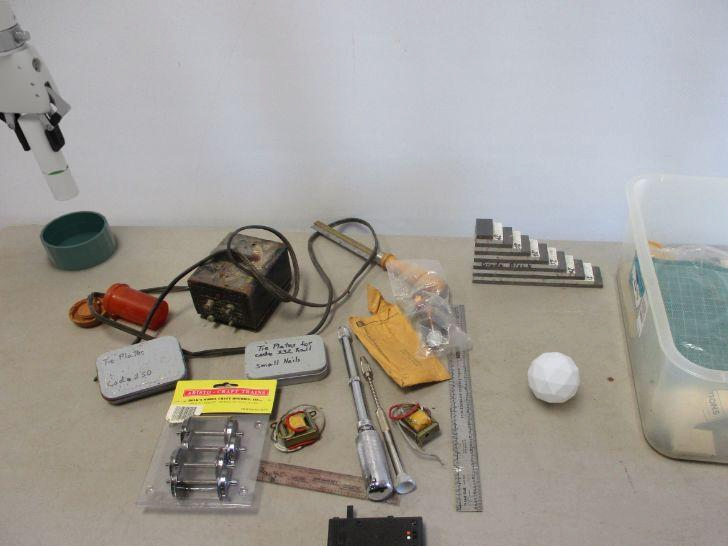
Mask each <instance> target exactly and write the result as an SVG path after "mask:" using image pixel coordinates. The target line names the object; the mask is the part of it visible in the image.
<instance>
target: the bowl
mask: <svg viewBox="0 0 728 546" xmlns="http://www.w3.org/2000/svg"><path fill="white" fill-rule="evenodd" d="M39 240H40V243H41V244H42V246H43V248H44V250H45V252H46V253H47V256H48V257H49V260H50V261H51V262H52V264H53V265H54V266H55V267H56V268H58V269H61V270H65V271H81V270H87V269H89V268H90V269H91V268H93V267H96V266H97V265H101V264H102V263H104V262H105V261H106V260H108V259H109V258H110V257H111V256H112V255H113V253H114V252H115V250H116V247H117V243H116V239H115V237H114V234H113V231H112V229H111V227H110V224H109V222H108V220H107V218H106V215H105V216H104V215H103V214H101V213H100V212H97V211H93V210H78V211H73V212H72V211H71V212H68V213H65V214H62V215H60V216H57V217H56V218H54V219H52V220H51V221H49V222H48V223H46V224H45V225H44V227H43V228H42V229H41V230H40V233H39Z"/></svg>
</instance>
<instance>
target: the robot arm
mask: <svg viewBox="0 0 728 546" xmlns="http://www.w3.org/2000/svg"><path fill="white" fill-rule="evenodd" d="M29 41H31V34H30V32H29V31H27V30H23V29H22V28H21V25H20V24H19V21H18V19H17V17H16V15H15V12H14V10H13V7H12V5H11V3H10V1H9V0H0V120H1V121H2V122H3V123H5V124H6V125H7V128H8V129H9V130H12V131H13V132H14V133H15V135H16V138H17V139H18V142H19V144H20V145H21V147H22V149H23V151H24V152H30V151H32V150H31V148H30V146H29V144H28V142H27V139H26V137H25V135H24V133H23V131H22V129H21V127H20V125H19V123H18V118H19V117H21V116H22V115H23V114H27V113H36V114H37V116H38V117H39V119H40V120H41V121H42V123H43V124H44V126H45V127H46V130H45V131H44V133H45V135H46V137H47V139H48V142H49V144H50V146H51V148H52V150H53V151H54V152H58V151H59V150H60V149H61V150H62V148H63V147H64V146H65V145H66V140H65V137H64V135H63V132H62V130H61V128H60V125H59V124H60V123H61V121H62V119H63V117H64V116H65V115H66V114H68V113H69V112H70V111H71V110H72V106H71V104H69V103H68V102H67V101H66V100H65V99H63V98H62V95H61V93H60V90H59V88H58V86H57V84H56V82H55V79H54V78H53V75H52V74H51V71H50V69H49V68H48V66H47V64H46V62H45V60H44V59H43V57H42V55H41V54H40V52H39V51H38V50H37V48H36V47H35V45H34V44H33V43H32V42H29ZM52 105H53V106H54V107H55V108H56V110H55V109H54V107H53V106H52Z"/></svg>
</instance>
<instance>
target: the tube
mask: <svg viewBox="0 0 728 546" xmlns="http://www.w3.org/2000/svg"><path fill="white" fill-rule="evenodd" d="M18 123H19V125H20V127H21V129H22V131H23V133H24V135H25V137H26V139H27V142H28V144H29V146H30V148H31V150H30V151H31V152H32V154H33V156H34V159H35V160H36V163H37V165H38V167H39V169H40V171H41V173H42V176H43V177H44V179H45V181H46V183H47V185H48V188H49V191H50V192H51V195H52V197H53V198H54V200H55V201H58V202H65V201H66V202H67V201H70V200H73V199H75V198H77V197H78V196H79V195H80V190H79V187H78V185H77V183H76V181H75V178H74V176H73V174H72V172H71V169H70V167H69V165H68V162H67V160H66V158H65V155H64V153H63V151H62V148H61V149H60V150H59V151H58V152H54V151H53V150H52V148H51V146H50V144H49V142H48V139H47V137H46V135H45V133H44V131H45V130H46V127H45V126H44V124H43V123H42V121H41V120H40V119H39V117H38V116H37V114H36V113H24V114H22V116H21V117H19V118H18Z"/></svg>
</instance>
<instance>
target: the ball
mask: <svg viewBox="0 0 728 546" xmlns="http://www.w3.org/2000/svg"><path fill="white" fill-rule="evenodd" d="M526 373H527V381H528V386H529V388H530V390H531V391H532V393H533V394H534V395H535V398H537V399H538V400H541V401H544V402H547V404H548V403H549V404H563V403H565V402H567V401H568V400H570V399H571V398H573V397H574V396H576V393H577V391H578V389H579V387H580V385H581V378H580V377H581V376H580V370H579V367H578V366H577V365H576V363H575V362H574V360H573V358H572V357H570V356H568V355H566V354H564V353H561V352H559V351H554V352H552V351H551V352H543V353H542V354H540V355H539V356H538V357H536V358H534V359H533V360H532V361H531V364H530V366H529V368H528V370H527V372H526Z"/></svg>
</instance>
